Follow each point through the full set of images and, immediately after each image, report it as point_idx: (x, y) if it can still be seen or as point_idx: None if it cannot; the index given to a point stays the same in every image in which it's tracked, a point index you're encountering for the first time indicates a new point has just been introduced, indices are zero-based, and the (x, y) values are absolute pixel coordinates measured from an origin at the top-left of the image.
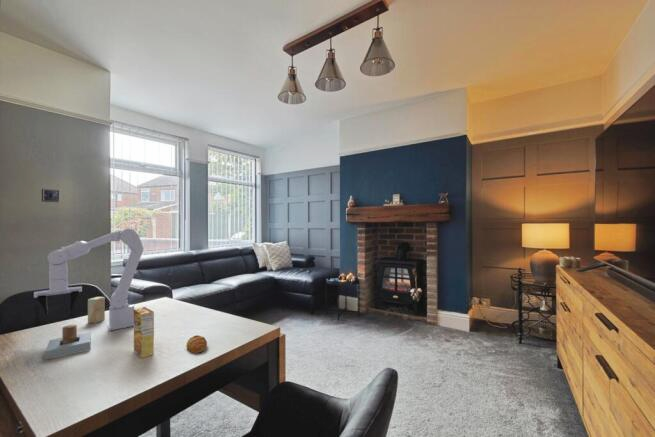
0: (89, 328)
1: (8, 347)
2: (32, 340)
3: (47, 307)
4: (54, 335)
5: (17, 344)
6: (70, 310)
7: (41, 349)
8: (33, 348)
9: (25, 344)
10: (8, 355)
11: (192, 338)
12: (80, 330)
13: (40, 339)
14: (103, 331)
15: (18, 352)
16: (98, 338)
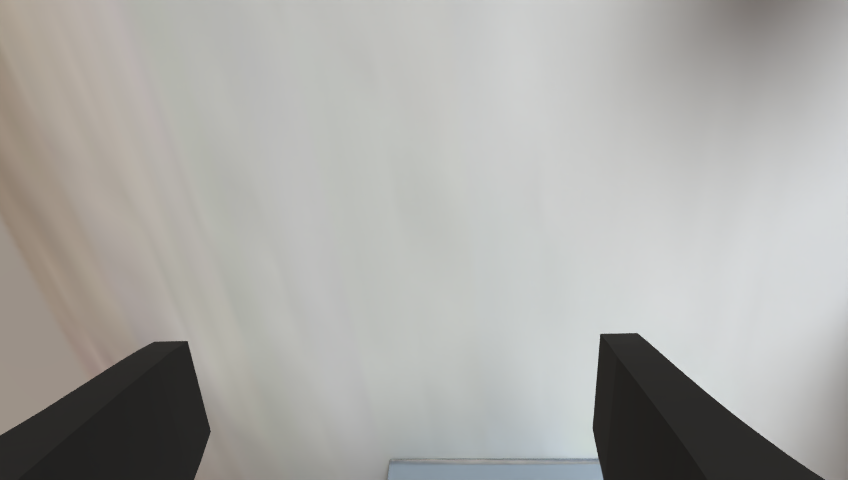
0: (735, 40)
1: (17, 208)
2: (164, 113)
3: (111, 426)
4: (356, 71)
5: (61, 161)
6: (593, 430)
7: (334, 445)
8: (264, 383)
9: (146, 217)
10: None
11: None
12: (629, 59)
13: (240, 134)
14: (834, 293)
15: None
16: None
